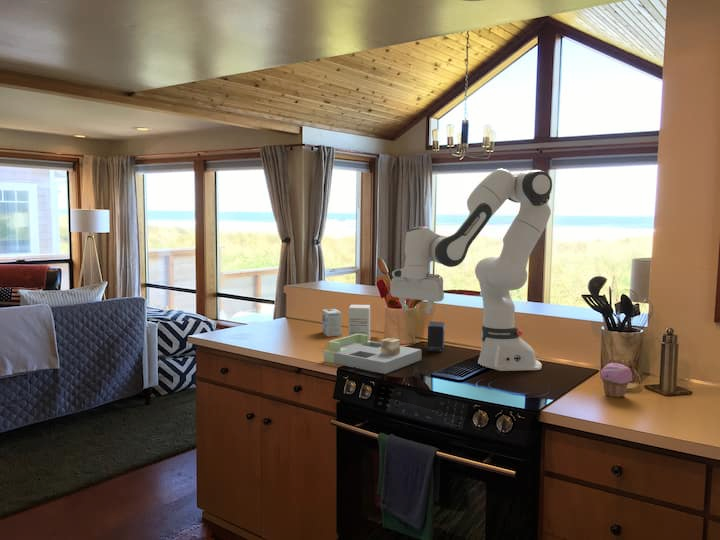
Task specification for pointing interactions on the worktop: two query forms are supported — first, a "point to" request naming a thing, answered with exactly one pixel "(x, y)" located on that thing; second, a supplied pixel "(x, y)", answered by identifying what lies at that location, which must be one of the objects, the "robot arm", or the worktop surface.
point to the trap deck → (368, 354)
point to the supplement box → (359, 320)
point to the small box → (436, 336)
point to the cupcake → (615, 379)
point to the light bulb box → (331, 322)
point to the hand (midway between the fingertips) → (416, 311)
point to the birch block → (390, 346)
